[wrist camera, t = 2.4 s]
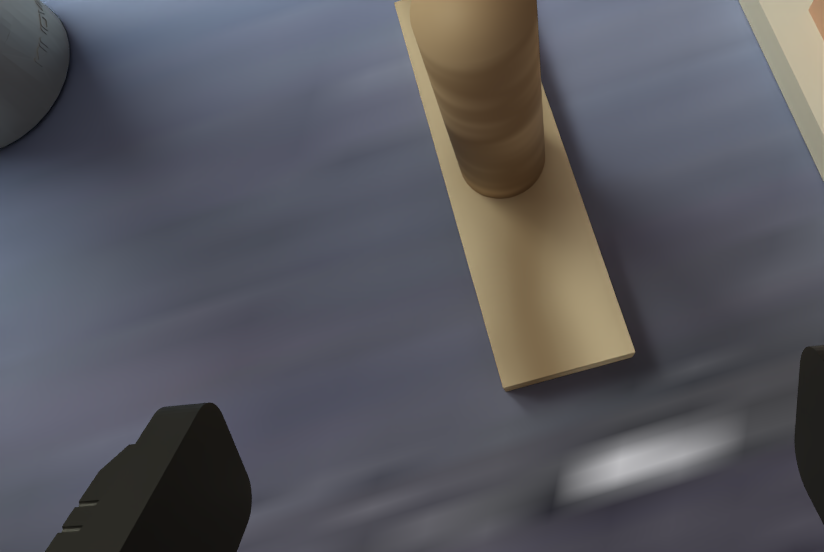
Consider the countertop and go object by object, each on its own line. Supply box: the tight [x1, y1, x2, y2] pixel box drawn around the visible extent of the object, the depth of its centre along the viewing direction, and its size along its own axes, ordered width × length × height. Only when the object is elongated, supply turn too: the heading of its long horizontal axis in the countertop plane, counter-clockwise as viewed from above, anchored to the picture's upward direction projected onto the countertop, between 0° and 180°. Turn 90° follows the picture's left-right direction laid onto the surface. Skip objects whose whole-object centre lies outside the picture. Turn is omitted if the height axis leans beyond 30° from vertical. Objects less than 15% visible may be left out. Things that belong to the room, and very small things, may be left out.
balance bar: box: [394, 0, 635, 391], centre depth 25 cm, size 5×18×12 cm, turn 14°
